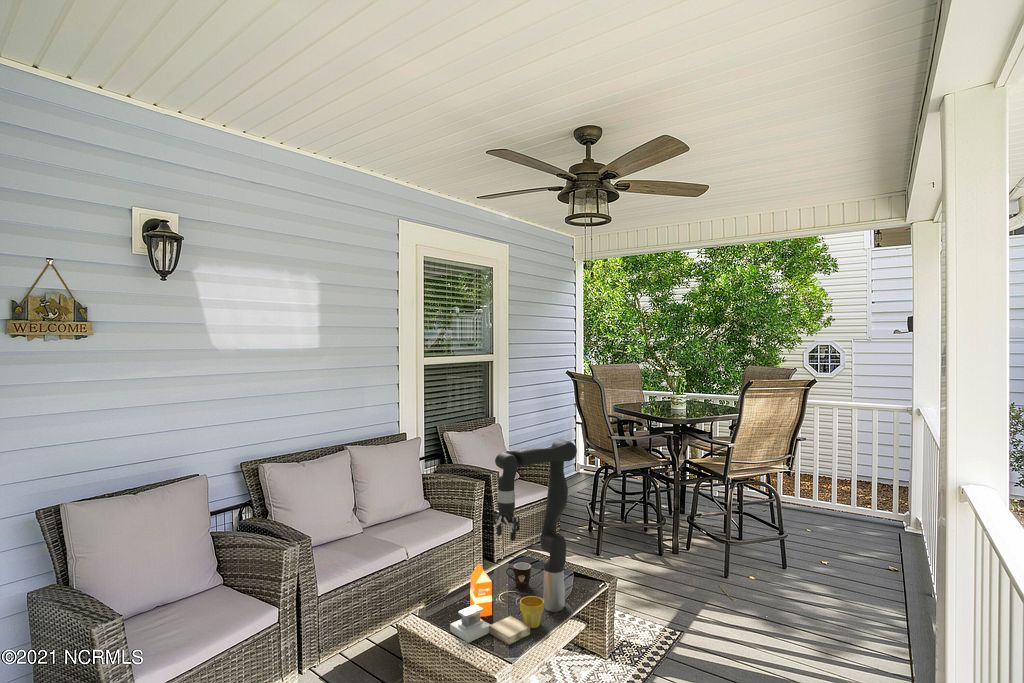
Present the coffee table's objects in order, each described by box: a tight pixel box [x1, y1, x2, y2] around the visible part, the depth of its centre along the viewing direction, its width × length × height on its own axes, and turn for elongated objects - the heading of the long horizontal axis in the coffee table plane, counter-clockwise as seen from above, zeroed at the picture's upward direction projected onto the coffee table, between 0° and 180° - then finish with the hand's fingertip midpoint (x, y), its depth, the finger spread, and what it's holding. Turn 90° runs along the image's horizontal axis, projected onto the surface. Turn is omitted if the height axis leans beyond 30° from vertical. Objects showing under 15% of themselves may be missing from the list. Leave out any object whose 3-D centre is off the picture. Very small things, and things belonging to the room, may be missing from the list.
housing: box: [458, 604, 483, 630], centre depth 222 cm, size 9×5×6 cm, turn 133°
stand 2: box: [488, 615, 531, 646], centre depth 221 cm, size 12×12×3 cm
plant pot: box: [519, 595, 545, 629], centre depth 228 cm, size 10×10×10 cm
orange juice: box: [469, 562, 493, 618], centre depth 239 cm, size 8×9×20 cm
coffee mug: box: [505, 562, 532, 590], centre depth 265 cm, size 12×9×10 cm
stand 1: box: [449, 618, 491, 643], centre depth 222 cm, size 12×12×3 cm
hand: (506, 537), depth 230 cm, fingers open, 8 cm apart
